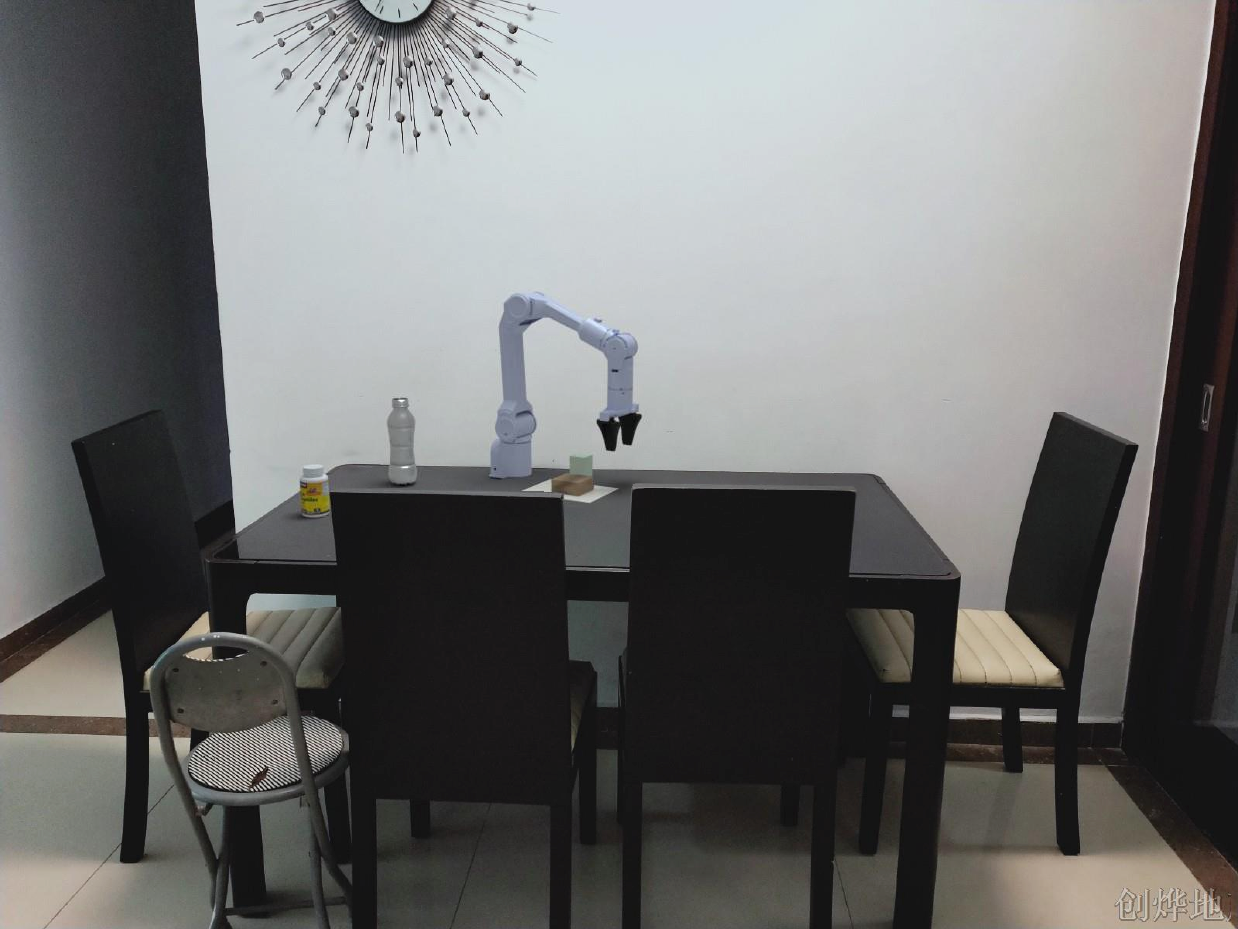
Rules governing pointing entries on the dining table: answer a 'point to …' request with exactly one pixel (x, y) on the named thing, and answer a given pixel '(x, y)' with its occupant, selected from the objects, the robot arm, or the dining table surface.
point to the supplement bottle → (314, 492)
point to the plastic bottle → (401, 443)
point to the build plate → (587, 497)
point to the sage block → (581, 464)
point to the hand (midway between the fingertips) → (619, 447)
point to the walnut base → (572, 484)
